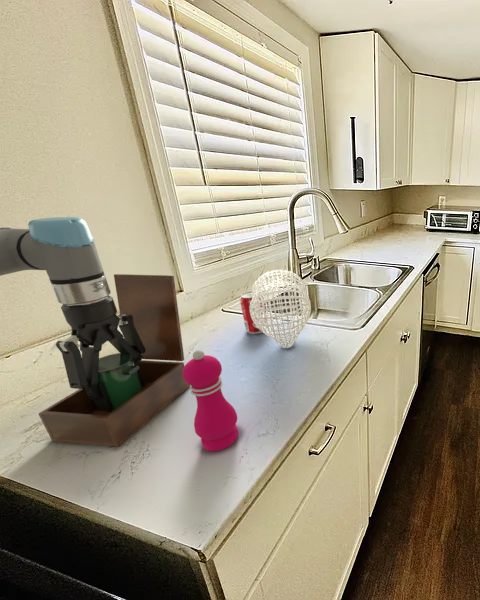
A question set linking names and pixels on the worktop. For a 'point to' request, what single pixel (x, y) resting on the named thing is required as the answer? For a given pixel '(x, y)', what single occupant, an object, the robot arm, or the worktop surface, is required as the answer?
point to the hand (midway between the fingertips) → (122, 396)
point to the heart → (257, 313)
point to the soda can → (248, 320)
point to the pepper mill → (210, 403)
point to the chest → (121, 422)
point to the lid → (152, 313)
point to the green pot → (119, 378)
